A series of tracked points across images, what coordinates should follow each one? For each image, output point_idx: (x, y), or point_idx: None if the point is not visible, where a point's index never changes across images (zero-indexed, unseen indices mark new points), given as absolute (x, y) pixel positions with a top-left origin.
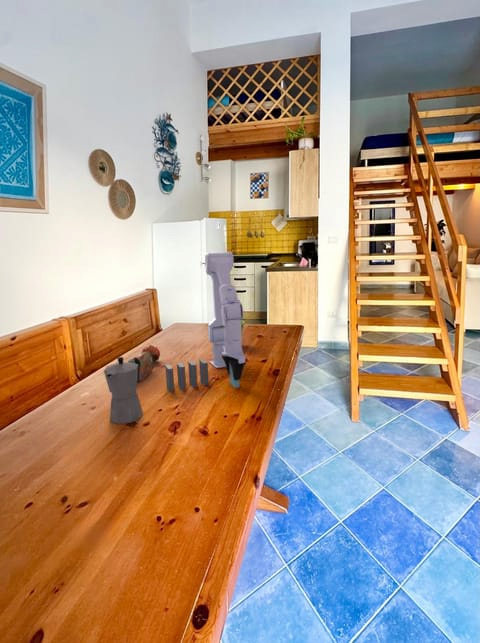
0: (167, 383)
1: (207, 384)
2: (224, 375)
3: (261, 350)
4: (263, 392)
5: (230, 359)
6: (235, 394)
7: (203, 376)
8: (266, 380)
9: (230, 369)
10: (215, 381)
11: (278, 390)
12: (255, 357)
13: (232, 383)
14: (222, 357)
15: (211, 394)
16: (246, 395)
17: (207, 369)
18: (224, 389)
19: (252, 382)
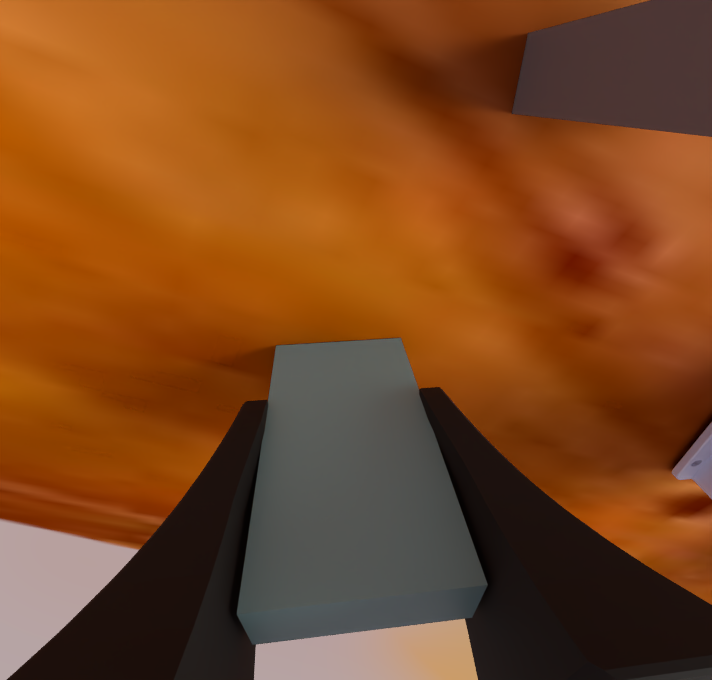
0: None
1: (517, 91)
2: (594, 346)
3: (709, 574)
4: (125, 478)
5: (504, 632)
6: (112, 305)
7: (649, 9)
8: None
9: (407, 466)
10: (536, 227)
11: (144, 537)
12: (666, 545)
13: (339, 355)
14: (675, 619)
15: (160, 11)
16: (75, 378)
17: (707, 117)
18: (278, 246)
19: None
